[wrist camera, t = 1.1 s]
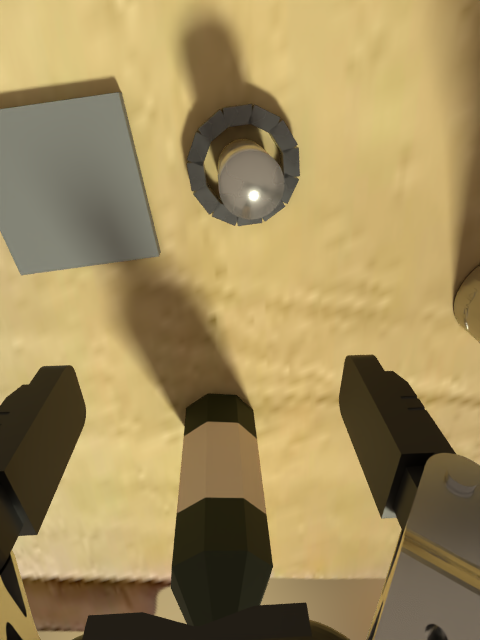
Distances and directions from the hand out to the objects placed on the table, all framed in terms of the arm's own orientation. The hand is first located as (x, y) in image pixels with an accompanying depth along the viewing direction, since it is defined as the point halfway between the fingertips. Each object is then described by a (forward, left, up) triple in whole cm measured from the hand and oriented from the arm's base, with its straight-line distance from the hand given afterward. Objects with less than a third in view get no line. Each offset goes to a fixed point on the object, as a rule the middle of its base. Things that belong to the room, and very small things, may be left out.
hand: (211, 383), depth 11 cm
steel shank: (-3, -3, -23) cm, 23 cm away
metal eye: (-3, -3, -23) cm, 23 cm away
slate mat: (+11, -3, -23) cm, 25 cm away
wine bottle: (+3, +24, -23) cm, 34 cm away
